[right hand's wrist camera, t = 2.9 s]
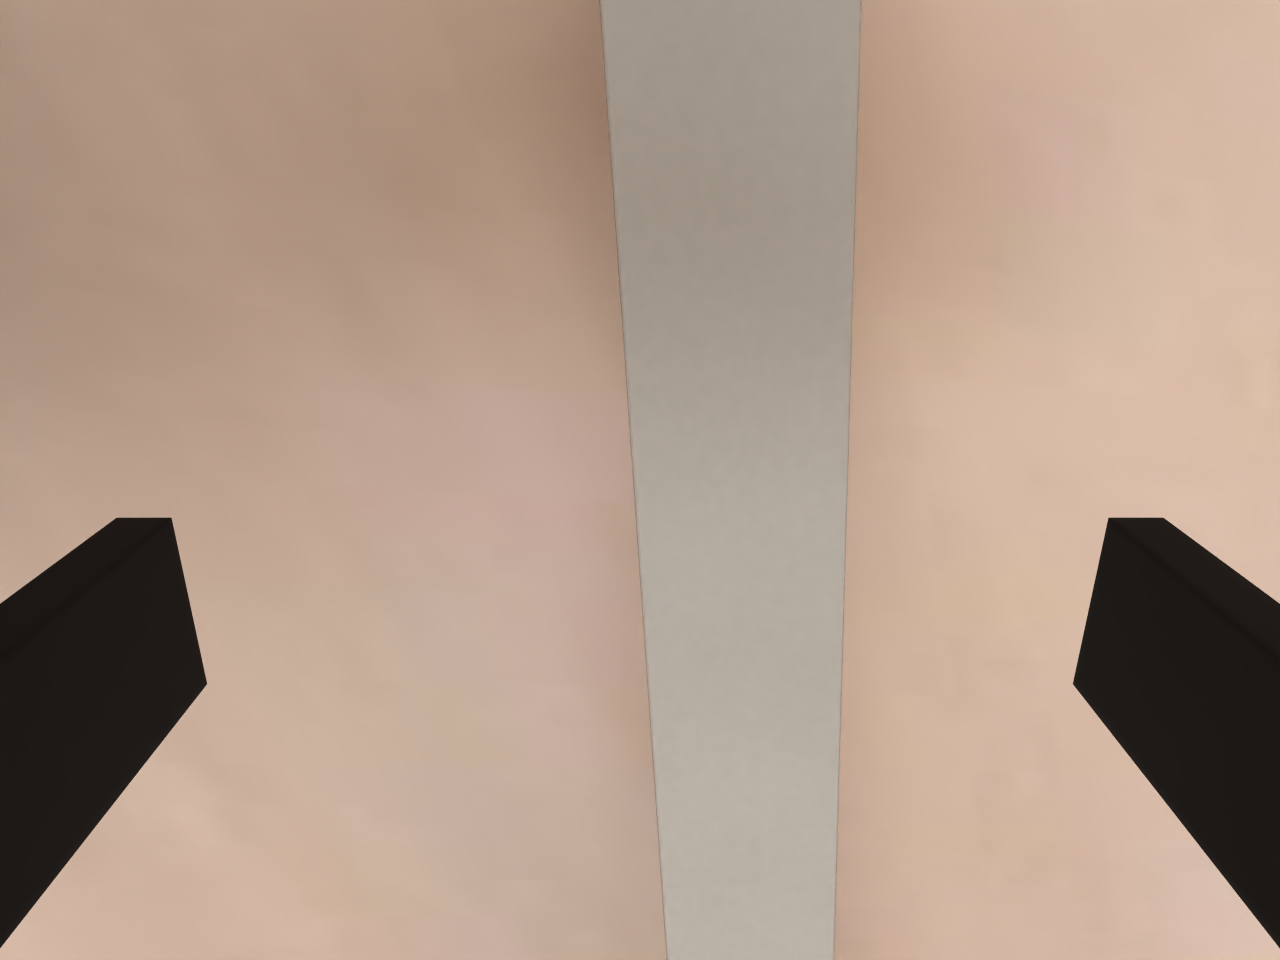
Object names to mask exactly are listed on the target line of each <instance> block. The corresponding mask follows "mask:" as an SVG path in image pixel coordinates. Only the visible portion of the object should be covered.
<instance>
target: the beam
mask: <svg viewBox="0 0 1280 960" xmlns="http://www.w3.org/2000/svg"><path fill="white" fill-rule="evenodd" d="M600 12H601V27H602V41H603V55H604V69H605V84H606V98H607V112H608V127H609V141H610V155H611V169H612V184H613V198H614V212H615V226H616V241H617V255H618V269H619V284H620V298H621V312H622V326H623V341H624V355H625V369H626V383H627V398H628V412H629V426H630V441H631V455H632V469H633V483H634V498H635V512H636V526H637V540H638V555H639V569H640V583H641V597H642V612H643V626H644V640H645V655H646V669H647V683H648V697H649V712H650V726H651V740H652V754H653V769H654V783H655V797H656V812H657V826H658V840H659V854H660V869H661V883H662V897H663V911H664V926H665V940H666V954H667V960H834V939H835V904H836V869H837V834H838V799H839V765H840V730H841V695H842V660H843V625H844V590H845V555H846V520H847V485H848V451H849V416H850V381H851V346H852V311H853V276H854V241H855V206H856V171H857V137H858V102H859V67H860V32H861V0H600Z"/></svg>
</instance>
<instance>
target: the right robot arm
mask: <svg viewBox="0 0 1280 960" xmlns="http://www.w3.org/2000/svg"><path fill="white" fill-rule="evenodd" d="M206 685H207V681H206V677H205V672H204V667H203V663H202V658H201V653H200V649H199V644H198V640H197V635H196V630H195V626H194V621H193V616H192V612H191V607H190V602H189V598H188V593H187V588H186V584H185V579H184V574H183V570H182V565H181V560H180V556H179V551H178V546H177V542H176V537H175V532H174V528H173V523H172V518H116V519H114V520H113V521H112V522H110V523H109V524H108V525H106V526H105V527H104V528H102V529H101V530H99V531H98V532H97V533H95V534H94V535H93V536H91V537H90V538H89V539H87V540H86V541H85V542H83V543H82V544H81V545H79V546H78V547H76V548H75V549H74V550H72V551H71V552H70V553H68V554H67V555H66V556H64V557H63V558H62V559H60V560H59V561H58V562H56V563H55V564H53V565H52V566H51V567H49V568H48V569H47V570H45V571H44V572H43V573H41V574H40V575H39V576H37V577H36V578H35V579H33V580H32V581H30V582H29V583H28V584H26V585H25V586H24V587H22V588H21V589H20V590H18V591H17V592H16V593H14V594H13V595H12V596H10V597H9V598H7V599H6V600H5V601H3V602H2V603H1V604H0V948H1V946H2V945H3V944H4V943H5V941H6V940H7V939H8V938H9V936H10V935H11V934H12V932H13V931H14V930H15V929H16V927H17V926H18V925H19V924H20V922H21V921H22V920H23V918H24V917H25V916H26V915H27V913H28V912H29V911H30V909H31V908H32V907H33V906H34V904H35V903H36V902H37V901H38V899H39V898H40V897H41V895H42V894H43V893H44V892H45V890H46V889H47V888H48V886H49V885H50V884H51V883H52V881H53V880H54V879H55V878H56V876H57V875H58V874H59V872H60V871H61V870H62V869H63V867H64V866H65V865H66V863H67V862H68V861H69V860H70V858H71V857H72V856H73V855H74V853H75V852H76V851H77V849H78V848H79V847H80V846H81V844H82V843H83V842H84V840H85V839H86V838H87V837H88V835H89V834H90V833H91V832H92V830H93V829H94V828H95V826H96V825H97V824H98V823H99V821H100V820H101V819H102V818H103V816H104V815H105V814H106V812H107V811H108V810H109V809H110V807H111V806H112V805H113V803H114V802H115V801H116V800H117V798H118V797H119V796H120V795H121V793H122V792H123V791H124V789H125V788H126V787H127V786H128V784H129V783H130V782H131V780H132V779H133V778H134V777H135V775H136V774H137V773H138V772H139V770H140V769H141V768H142V766H143V765H144V764H145V763H146V761H147V760H148V759H149V757H150V756H151V755H152V754H153V752H154V751H155V750H156V749H157V747H158V746H159V745H160V743H161V742H162V741H163V740H164V738H165V737H166V736H167V735H168V733H169V732H170V731H171V729H172V728H173V727H174V726H175V724H176V723H177V722H178V720H179V719H180V718H181V717H182V715H183V714H184V713H185V712H186V710H187V709H188V708H189V706H190V705H191V704H192V703H193V701H194V700H195V699H196V697H197V696H198V695H199V694H200V692H201V691H202V690H203V689H204V687H205V686H206ZM1073 685H1074V686H1075V687H1076V689H1077V690H1078V691H1079V692H1080V694H1081V695H1082V696H1083V697H1084V699H1085V700H1086V701H1087V703H1088V704H1089V705H1090V706H1091V708H1092V709H1093V710H1094V712H1095V713H1096V714H1097V715H1098V717H1099V718H1100V719H1101V720H1102V722H1103V723H1104V724H1105V726H1106V727H1107V728H1108V729H1109V731H1110V732H1111V733H1112V735H1113V736H1114V737H1115V738H1116V740H1117V741H1118V742H1119V743H1120V745H1121V746H1122V747H1123V749H1124V750H1125V751H1126V752H1127V754H1128V755H1129V756H1130V757H1131V759H1132V760H1133V761H1134V763H1135V764H1136V765H1137V766H1138V768H1139V769H1140V770H1141V772H1142V773H1143V774H1144V775H1145V777H1146V778H1147V779H1148V780H1149V782H1150V783H1151V784H1152V786H1153V787H1154V788H1155V789H1156V791H1157V792H1158V793H1159V795H1160V796H1161V797H1162V798H1163V800H1164V801H1165V802H1166V803H1167V805H1168V806H1169V807H1170V809H1171V810H1172V811H1173V812H1174V814H1175V815H1176V816H1177V818H1178V819H1179V820H1180V821H1181V823H1182V824H1183V825H1184V826H1185V828H1186V829H1187V830H1188V832H1189V833H1190V834H1191V835H1192V837H1193V838H1194V839H1195V840H1196V842H1197V843H1198V844H1199V846H1200V847H1201V848H1202V849H1203V851H1204V852H1205V853H1206V855H1207V856H1208V857H1209V858H1210V860H1211V861H1212V862H1213V863H1214V865H1215V866H1216V867H1217V869H1218V870H1219V871H1220V872H1221V874H1222V875H1223V876H1224V878H1225V879H1226V880H1227V881H1228V883H1229V884H1230V885H1231V886H1232V888H1233V889H1234V890H1235V892H1236V893H1237V894H1238V895H1239V897H1240V898H1241V899H1242V901H1243V902H1244V903H1245V904H1246V906H1247V907H1248V908H1249V909H1250V911H1251V912H1252V913H1253V915H1254V916H1255V917H1256V918H1257V920H1258V921H1259V922H1260V924H1261V925H1262V926H1263V927H1264V929H1265V930H1266V931H1267V932H1268V934H1269V935H1270V936H1271V938H1272V939H1273V940H1274V941H1275V943H1276V944H1277V945H1278V946H1279V948H1280V604H1279V603H1278V602H1277V601H1275V600H1274V599H1273V598H1271V597H1270V596H1268V595H1267V594H1266V593H1264V592H1263V591H1262V590H1260V589H1259V588H1258V587H1256V586H1255V585H1254V584H1252V583H1251V582H1250V581H1248V580H1247V579H1245V578H1244V577H1243V576H1241V575H1240V574H1239V573H1237V572H1236V571H1235V570H1233V569H1232V568H1231V567H1229V566H1228V565H1227V564H1225V563H1224V562H1222V561H1221V560H1220V559H1218V558H1217V557H1216V556H1214V555H1213V554H1212V553H1210V552H1209V551H1208V550H1206V549H1205V548H1204V547H1202V546H1201V545H1199V544H1198V543H1197V542H1195V541H1194V540H1193V539H1191V538H1190V537H1189V536H1187V535H1186V534H1185V533H1183V532H1182V531H1181V530H1179V529H1178V528H1176V527H1175V526H1174V525H1172V524H1171V523H1170V522H1168V521H1167V520H1166V519H1164V518H1108V523H1107V528H1106V532H1105V537H1104V542H1103V546H1102V551H1101V556H1100V560H1099V565H1098V570H1097V574H1096V579H1095V584H1094V588H1093V593H1092V598H1091V602H1090V607H1089V612H1088V616H1087V621H1086V626H1085V630H1084V635H1083V640H1082V644H1081V649H1080V654H1079V658H1078V663H1077V667H1076V672H1075V677H1074V681H1073Z"/></svg>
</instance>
